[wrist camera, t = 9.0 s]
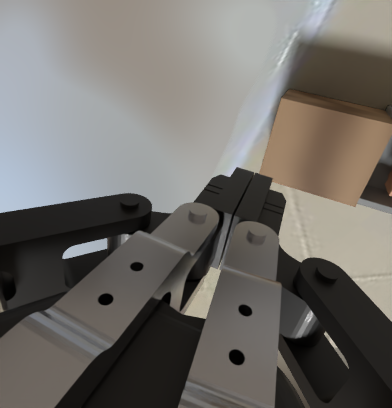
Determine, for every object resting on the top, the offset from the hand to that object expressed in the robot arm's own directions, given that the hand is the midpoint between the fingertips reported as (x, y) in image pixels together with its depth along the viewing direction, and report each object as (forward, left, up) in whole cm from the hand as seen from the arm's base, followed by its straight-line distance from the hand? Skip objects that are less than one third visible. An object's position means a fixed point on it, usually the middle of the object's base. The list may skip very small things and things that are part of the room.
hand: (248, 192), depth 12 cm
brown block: (+3, -3, -22) cm, 23 cm away
